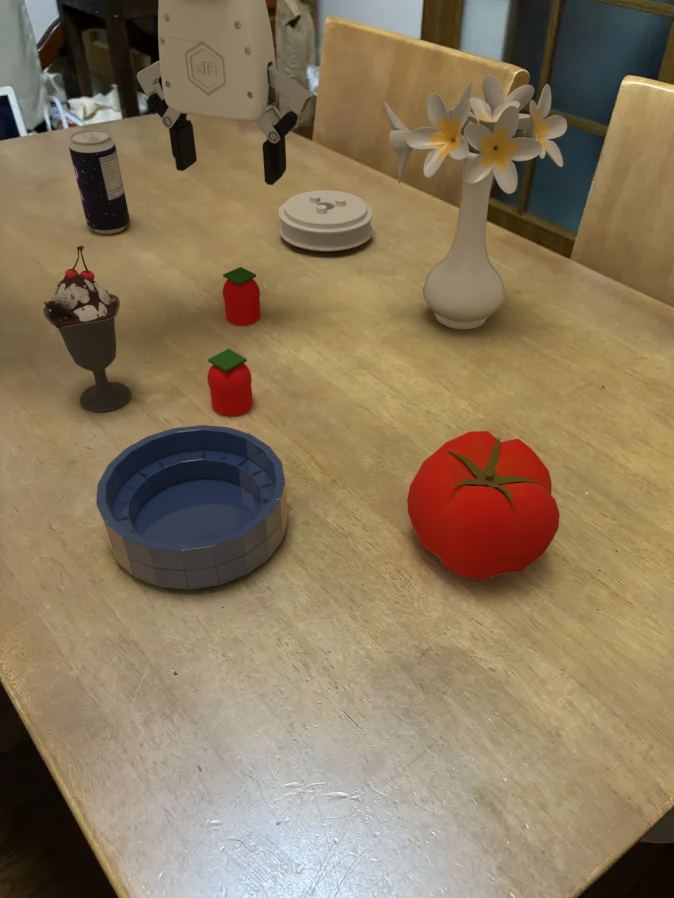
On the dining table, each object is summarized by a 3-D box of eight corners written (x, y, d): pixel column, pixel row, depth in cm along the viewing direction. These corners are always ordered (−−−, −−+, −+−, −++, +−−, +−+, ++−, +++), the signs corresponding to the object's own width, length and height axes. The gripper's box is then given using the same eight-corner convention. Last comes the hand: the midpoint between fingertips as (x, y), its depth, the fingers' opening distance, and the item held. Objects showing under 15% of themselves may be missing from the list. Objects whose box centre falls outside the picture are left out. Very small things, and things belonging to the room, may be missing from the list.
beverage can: (119, 215, 106) (101, 125, 98) (138, 229, 103) (121, 137, 95) (81, 225, 103) (59, 133, 95) (99, 240, 100) (78, 146, 92)
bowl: (74, 529, 62) (59, 484, 58) (211, 448, 70) (205, 404, 66) (185, 626, 55) (175, 581, 52) (322, 524, 63) (322, 479, 60)
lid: (391, 238, 103) (392, 202, 100) (325, 267, 97) (324, 229, 93) (327, 210, 110) (326, 175, 106) (260, 236, 103) (258, 199, 99)
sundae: (134, 373, 78) (103, 234, 68) (144, 409, 74) (113, 266, 63) (68, 384, 76) (26, 243, 66) (74, 423, 72) (30, 278, 62)
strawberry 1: (217, 316, 87) (212, 274, 83) (245, 303, 89) (241, 262, 86) (241, 330, 85) (237, 287, 81) (269, 316, 87) (266, 274, 84)
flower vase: (368, 297, 91) (374, 67, 74) (512, 287, 94) (551, 64, 77) (390, 355, 82) (404, 108, 65) (549, 342, 85) (602, 102, 68)
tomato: (426, 485, 67) (435, 403, 61) (560, 523, 64) (584, 440, 58) (383, 569, 60) (389, 485, 53) (532, 616, 57) (557, 533, 50)
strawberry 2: (202, 404, 75) (195, 359, 71) (234, 386, 77) (229, 342, 73) (230, 422, 73) (224, 376, 69) (262, 403, 75) (258, 358, 71)
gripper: (97, -33, 63) (134, 174, 75) (288, -14, 60) (296, 199, 72) (143, -46, 69) (171, 149, 80) (320, -29, 65) (323, 172, 77)
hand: (230, 173), depth 76 cm, fingers open, 9 cm apart
